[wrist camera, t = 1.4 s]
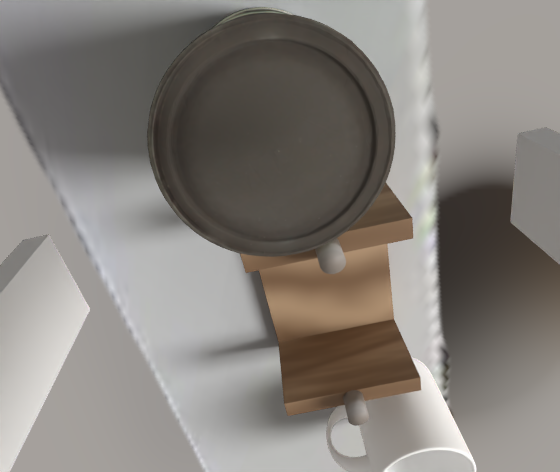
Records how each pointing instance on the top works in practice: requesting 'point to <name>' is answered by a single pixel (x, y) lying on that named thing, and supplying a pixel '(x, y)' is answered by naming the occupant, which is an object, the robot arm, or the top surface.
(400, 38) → the top surface
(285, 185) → the coffee can
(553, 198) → the robot arm
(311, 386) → the cradle
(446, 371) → the top surface
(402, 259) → the top surface
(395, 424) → the mug
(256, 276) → the top surface
